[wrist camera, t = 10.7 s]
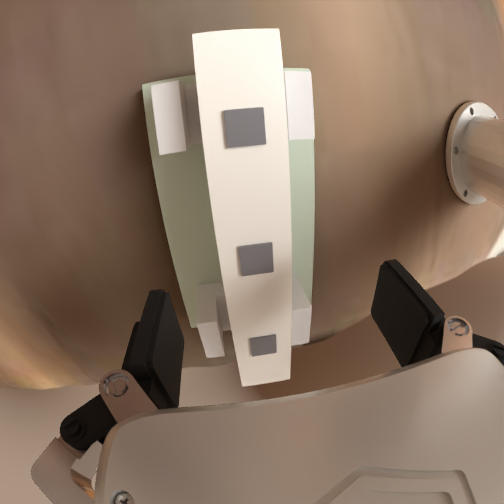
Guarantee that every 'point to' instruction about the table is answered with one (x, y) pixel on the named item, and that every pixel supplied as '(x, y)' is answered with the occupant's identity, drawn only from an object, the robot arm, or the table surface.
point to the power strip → (249, 191)
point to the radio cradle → (199, 205)
